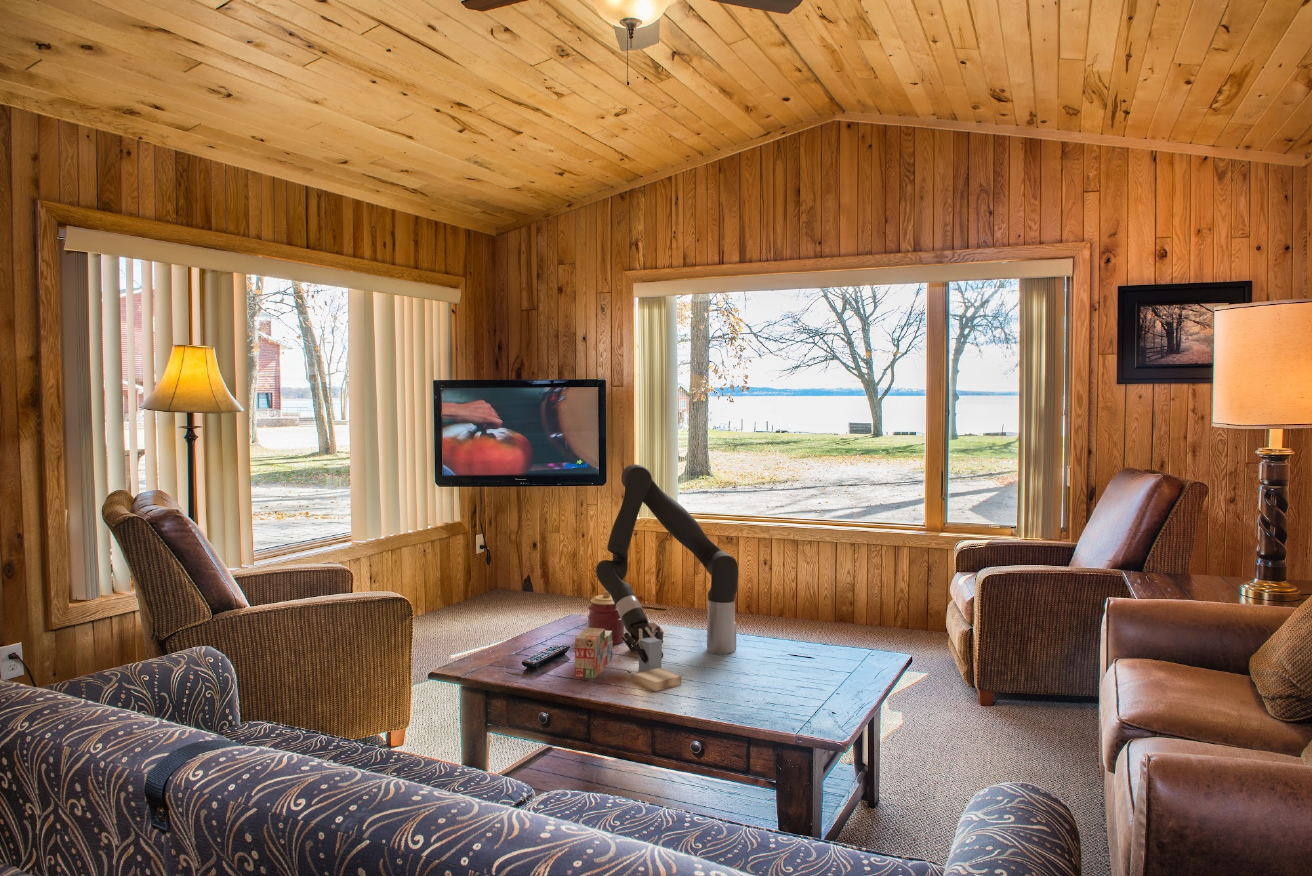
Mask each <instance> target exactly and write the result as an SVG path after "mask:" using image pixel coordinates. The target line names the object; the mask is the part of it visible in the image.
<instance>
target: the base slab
mask: <svg viewBox="0 0 1312 876" xmlns="http://www.w3.org/2000/svg"><path fill="white" fill-rule="evenodd" d="M633 683H634V684H636V683H637V684H636V685H639V686H641V685H642V686H641V687H644V688H646V687H647V688H646V689H648V688H649V690H651V689H652V690H651V691H653V692H657V690H658V691H661V690H660V689H662V690H665V689H664V688H666V689H668V688H667V687H670V688H673V687H672V686H674V687H677V686H676V685H678V686H681V685H682V675H680V674H677V673H675V672H671V671H669V670H668V669H667V670H666V669H665V668H662V667H661V668H657V669H652V670H648V671H644V672H639V671H638V672H636V673H633Z"/></svg>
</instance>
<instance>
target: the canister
mask: <svg viewBox="0 0 1312 876" xmlns="http://www.w3.org/2000/svg"><path fill="white" fill-rule="evenodd" d="M589 601H590V604H589V605H588V606H587V610H588V615H587V628H602V629H605V630H606V631H612V646H614V645H618V643H619V644H621V643H623V642H624V641H623V639H622V636H623V635H624V634H625V626H624V624H623V622H622V620H621V618H620V616H619V614H618V611H617V608H616V605H615V603H614V601H613V599H612V597H611V595H610V594H609V593H608V592H607V591H606V590H604V591H603V592H602V594H600V595H595V596H594V597H593V598H591V599H590V600H589Z"/></svg>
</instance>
